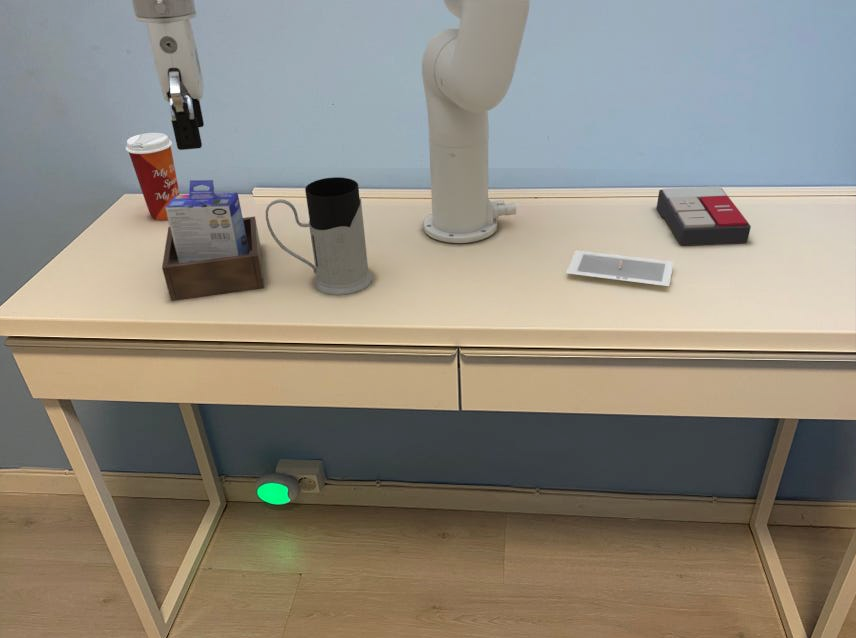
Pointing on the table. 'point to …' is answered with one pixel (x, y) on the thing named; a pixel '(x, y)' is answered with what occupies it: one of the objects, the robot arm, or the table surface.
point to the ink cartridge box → (206, 224)
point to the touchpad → (621, 268)
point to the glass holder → (334, 235)
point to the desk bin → (214, 270)
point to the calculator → (702, 216)
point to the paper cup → (154, 171)
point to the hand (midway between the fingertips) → (191, 137)
